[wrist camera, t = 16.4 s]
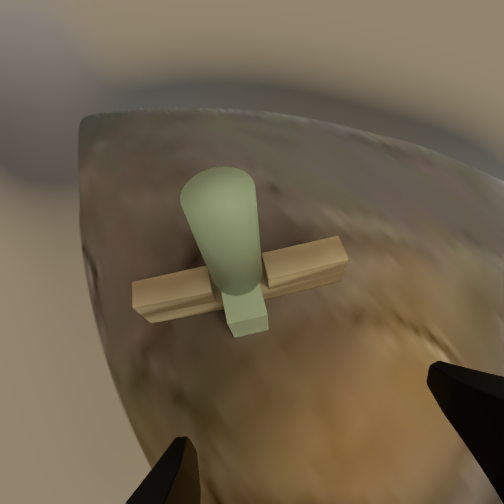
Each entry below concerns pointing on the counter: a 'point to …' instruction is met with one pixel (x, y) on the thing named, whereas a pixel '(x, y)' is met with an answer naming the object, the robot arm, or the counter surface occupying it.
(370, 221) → the counter surface
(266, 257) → the birch slotted plate
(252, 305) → the green joystick knob
